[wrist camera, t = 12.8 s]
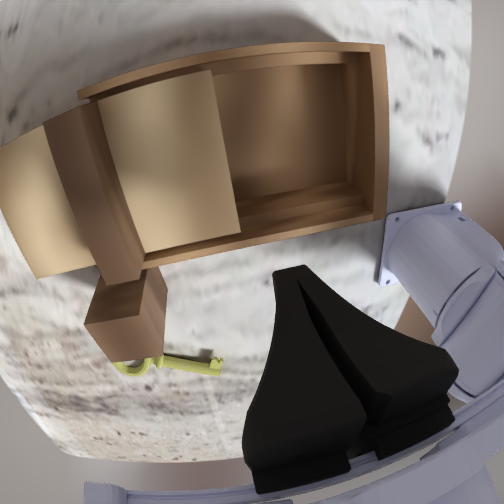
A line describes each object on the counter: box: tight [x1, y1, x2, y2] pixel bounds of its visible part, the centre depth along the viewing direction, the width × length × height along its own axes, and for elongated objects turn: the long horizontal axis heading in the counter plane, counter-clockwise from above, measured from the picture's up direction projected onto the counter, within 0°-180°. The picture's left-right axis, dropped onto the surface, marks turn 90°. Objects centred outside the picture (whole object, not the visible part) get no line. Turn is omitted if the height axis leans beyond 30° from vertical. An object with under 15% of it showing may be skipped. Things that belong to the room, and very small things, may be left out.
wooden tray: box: [77, 42, 389, 270], centre depth 16 cm, size 22×11×5 cm, turn 98°
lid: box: [0, 70, 241, 286], centre depth 14 cm, size 15×9×3 cm, turn 98°
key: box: [112, 353, 223, 376], centre depth 28 cm, size 7×12×2 cm, turn 90°
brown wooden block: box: [84, 266, 168, 363], centre depth 20 cm, size 4×4×7 cm
